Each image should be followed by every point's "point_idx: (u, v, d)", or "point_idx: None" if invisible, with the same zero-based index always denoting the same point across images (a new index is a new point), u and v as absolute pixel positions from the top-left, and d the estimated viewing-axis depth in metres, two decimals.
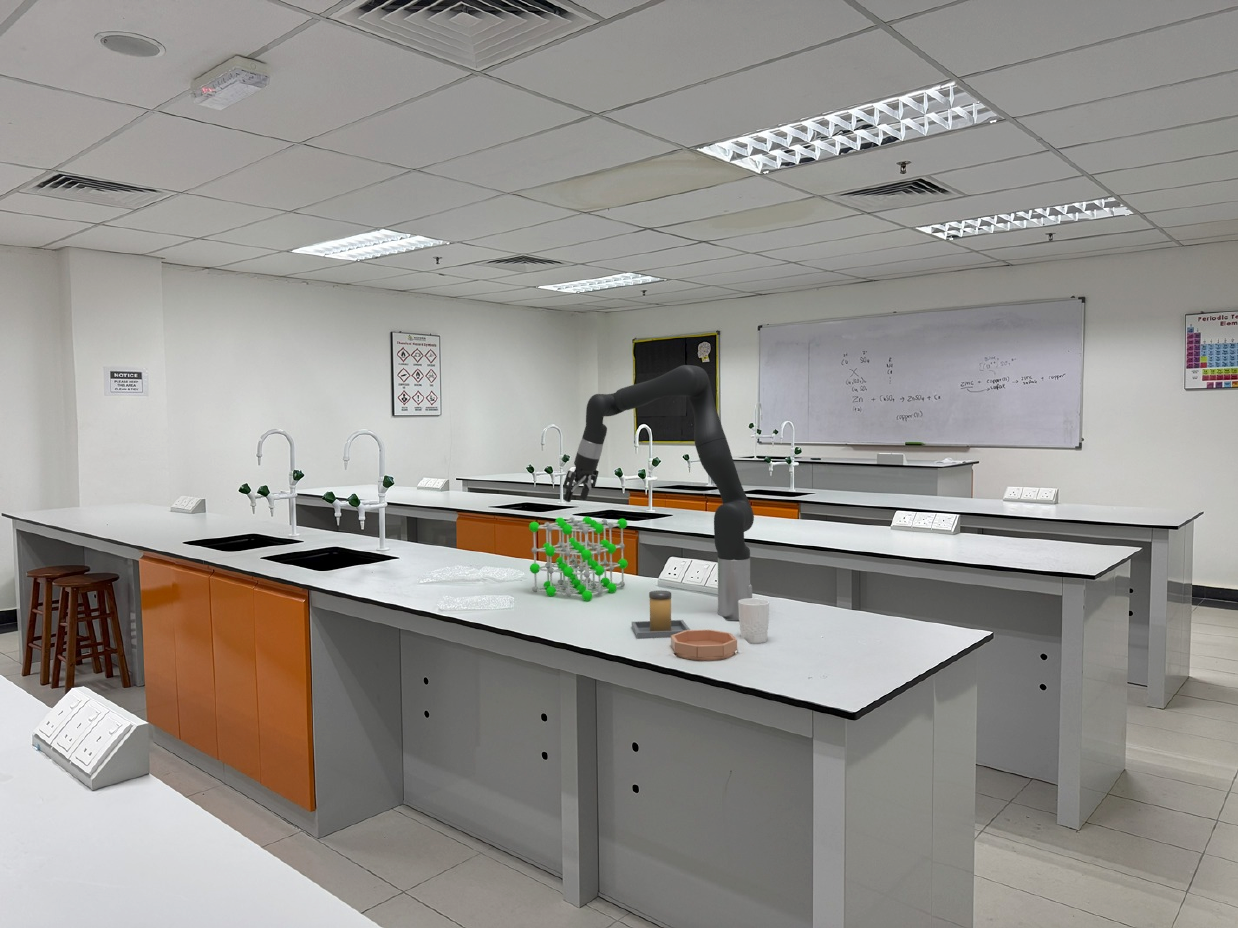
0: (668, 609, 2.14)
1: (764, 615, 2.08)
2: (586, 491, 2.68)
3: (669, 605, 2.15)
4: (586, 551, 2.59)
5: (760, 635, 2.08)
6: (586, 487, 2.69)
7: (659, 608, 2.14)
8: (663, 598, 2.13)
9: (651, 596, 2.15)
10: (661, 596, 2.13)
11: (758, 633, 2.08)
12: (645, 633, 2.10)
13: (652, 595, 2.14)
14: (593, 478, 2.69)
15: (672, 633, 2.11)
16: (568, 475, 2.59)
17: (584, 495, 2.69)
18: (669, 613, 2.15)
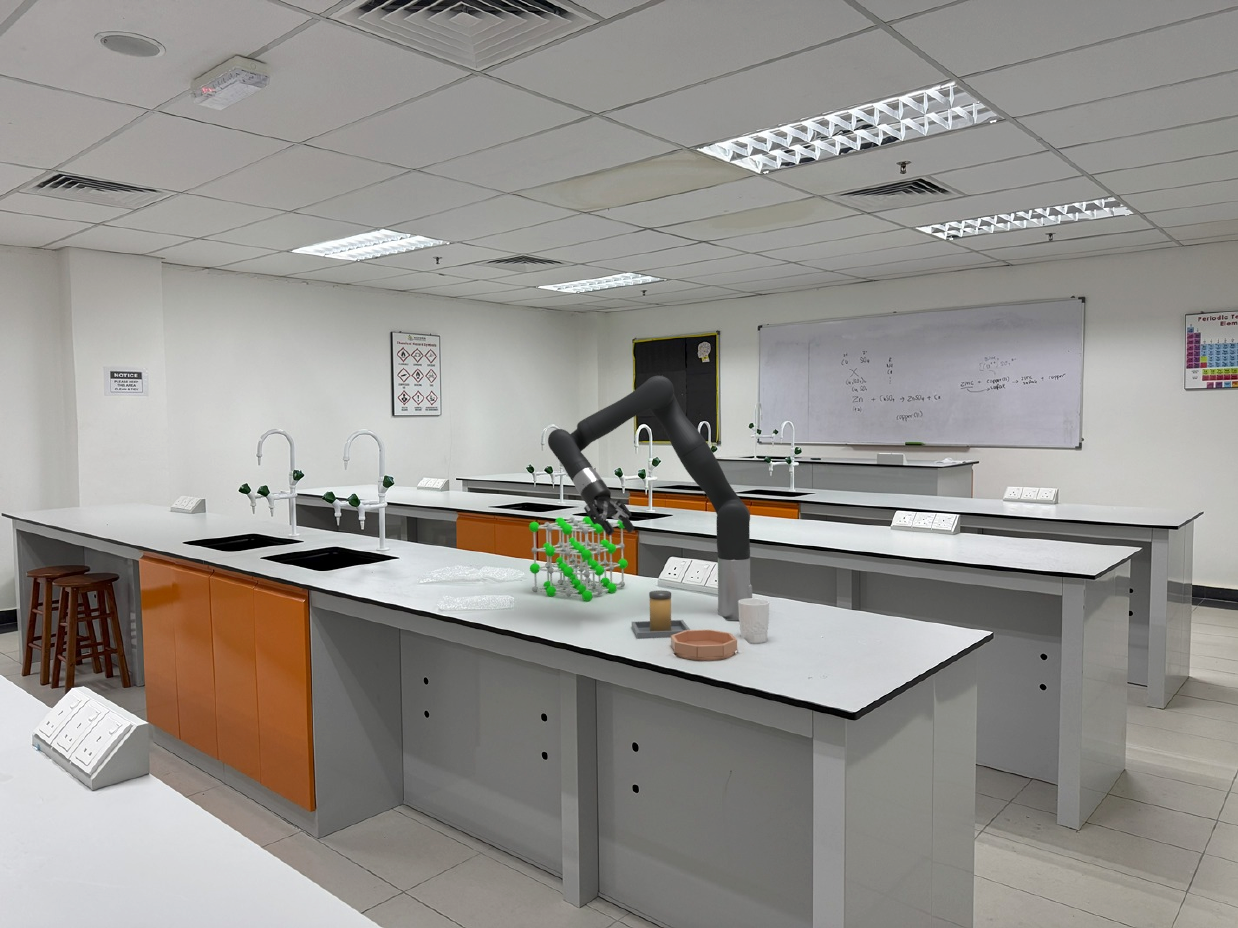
0: (668, 609, 2.14)
1: (764, 615, 2.08)
2: (626, 520, 2.28)
3: (669, 605, 2.15)
4: (586, 551, 2.59)
5: (760, 635, 2.08)
6: (623, 518, 2.29)
7: (659, 608, 2.14)
8: (663, 598, 2.13)
9: (651, 596, 2.15)
10: (661, 596, 2.13)
11: (758, 633, 2.08)
12: (645, 633, 2.10)
13: (652, 595, 2.14)
14: (622, 508, 2.31)
15: (672, 633, 2.11)
16: (587, 509, 2.22)
17: (628, 525, 2.27)
18: (669, 613, 2.15)
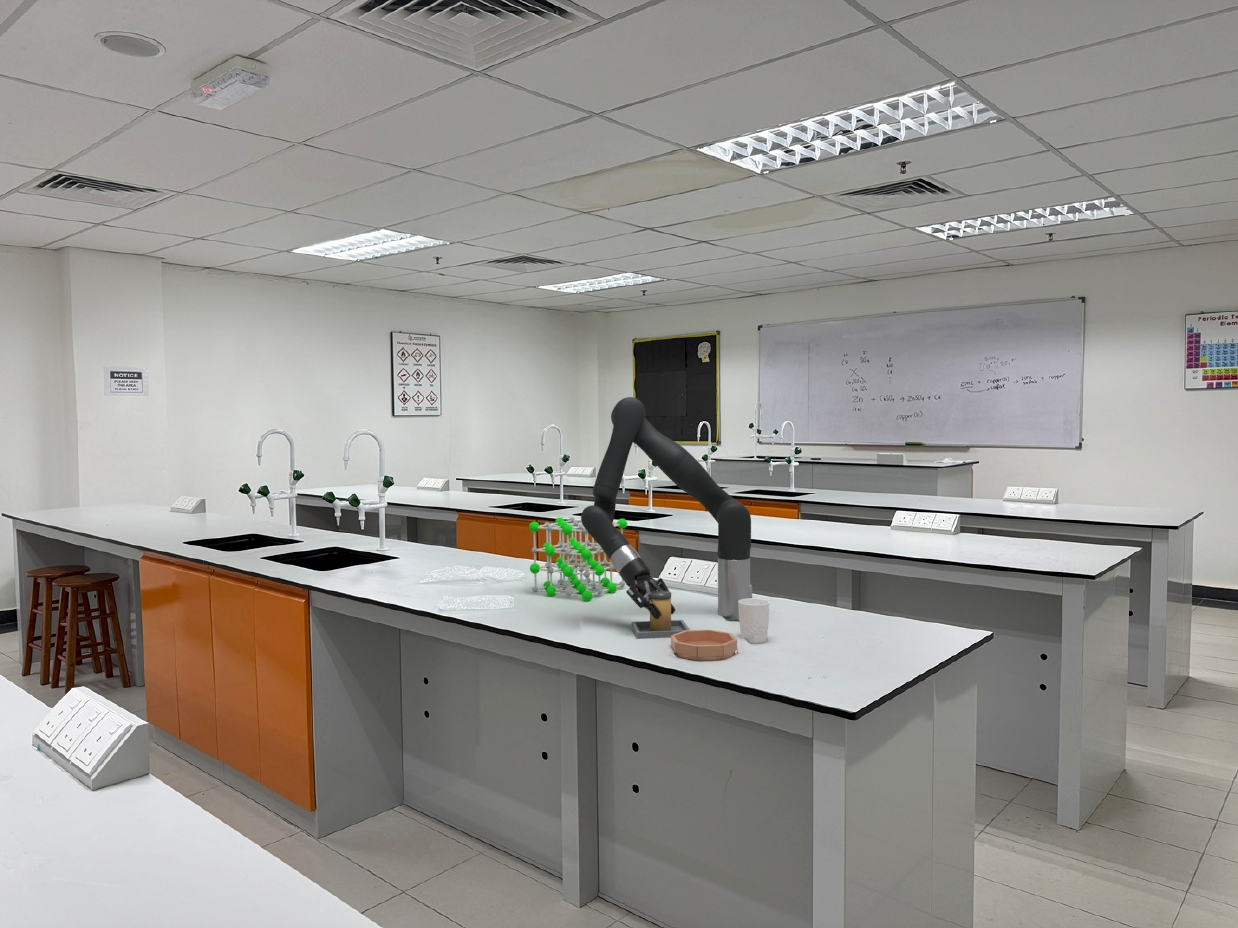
0: (668, 609, 2.14)
1: (764, 615, 2.08)
2: None
3: (669, 605, 2.15)
4: (586, 551, 2.59)
5: (760, 635, 2.08)
6: None
7: (659, 608, 2.13)
8: (663, 598, 2.13)
9: (651, 596, 2.15)
10: (661, 596, 2.13)
11: (758, 633, 2.08)
12: (645, 633, 2.10)
13: (652, 595, 2.14)
14: (662, 587, 2.22)
15: (672, 633, 2.11)
16: (630, 593, 2.14)
17: None
18: (669, 613, 2.15)
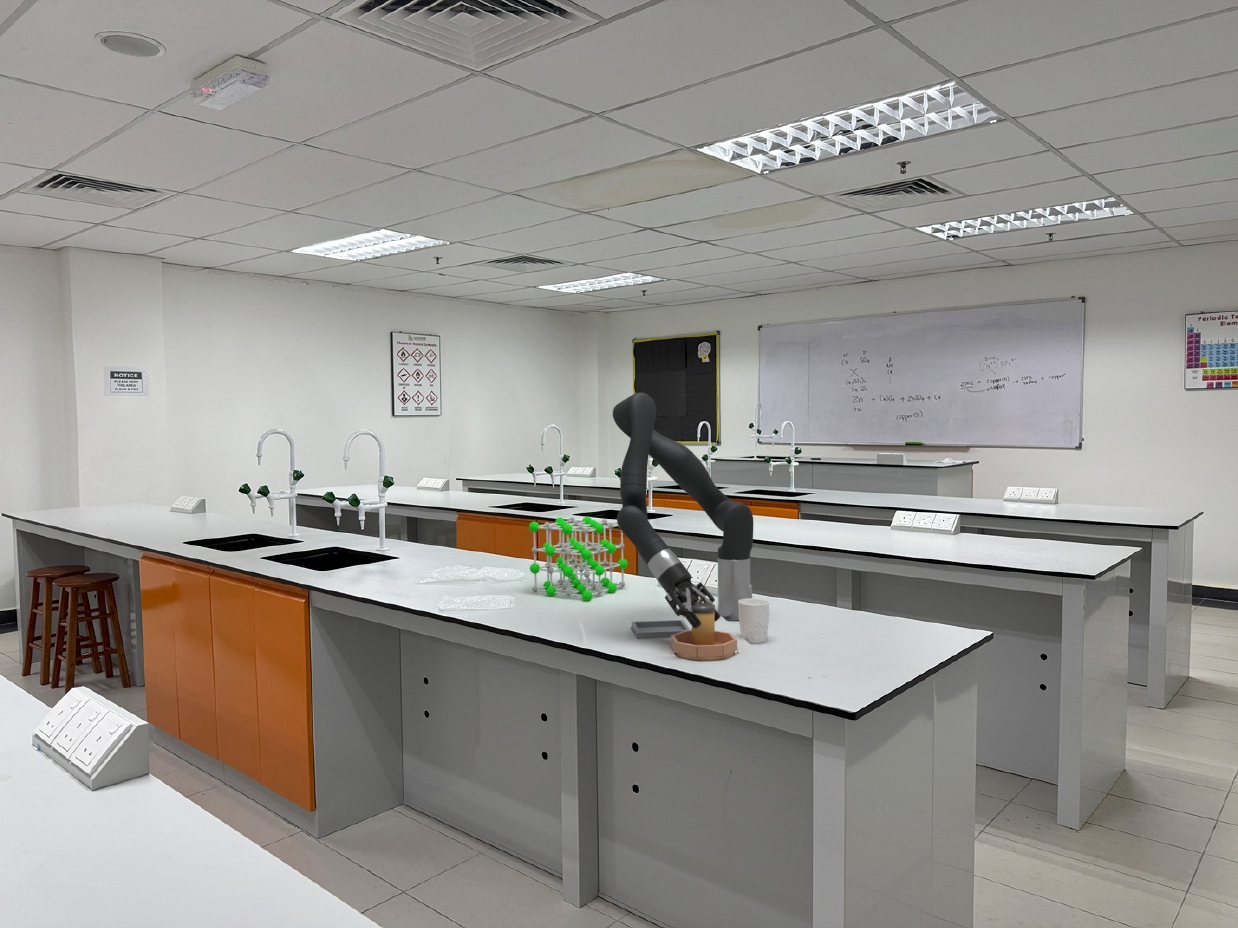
0: (712, 623, 1.98)
1: (764, 616, 2.08)
2: None
3: (713, 619, 1.99)
4: (586, 551, 2.59)
5: (760, 635, 2.08)
6: None
7: (703, 622, 1.98)
8: (706, 612, 1.97)
9: (693, 609, 1.99)
10: (704, 609, 1.97)
11: (758, 633, 2.08)
12: (645, 633, 2.10)
13: (694, 608, 1.98)
14: (704, 592, 2.07)
15: (672, 633, 2.11)
16: (669, 598, 1.98)
17: None
18: (713, 628, 1.99)
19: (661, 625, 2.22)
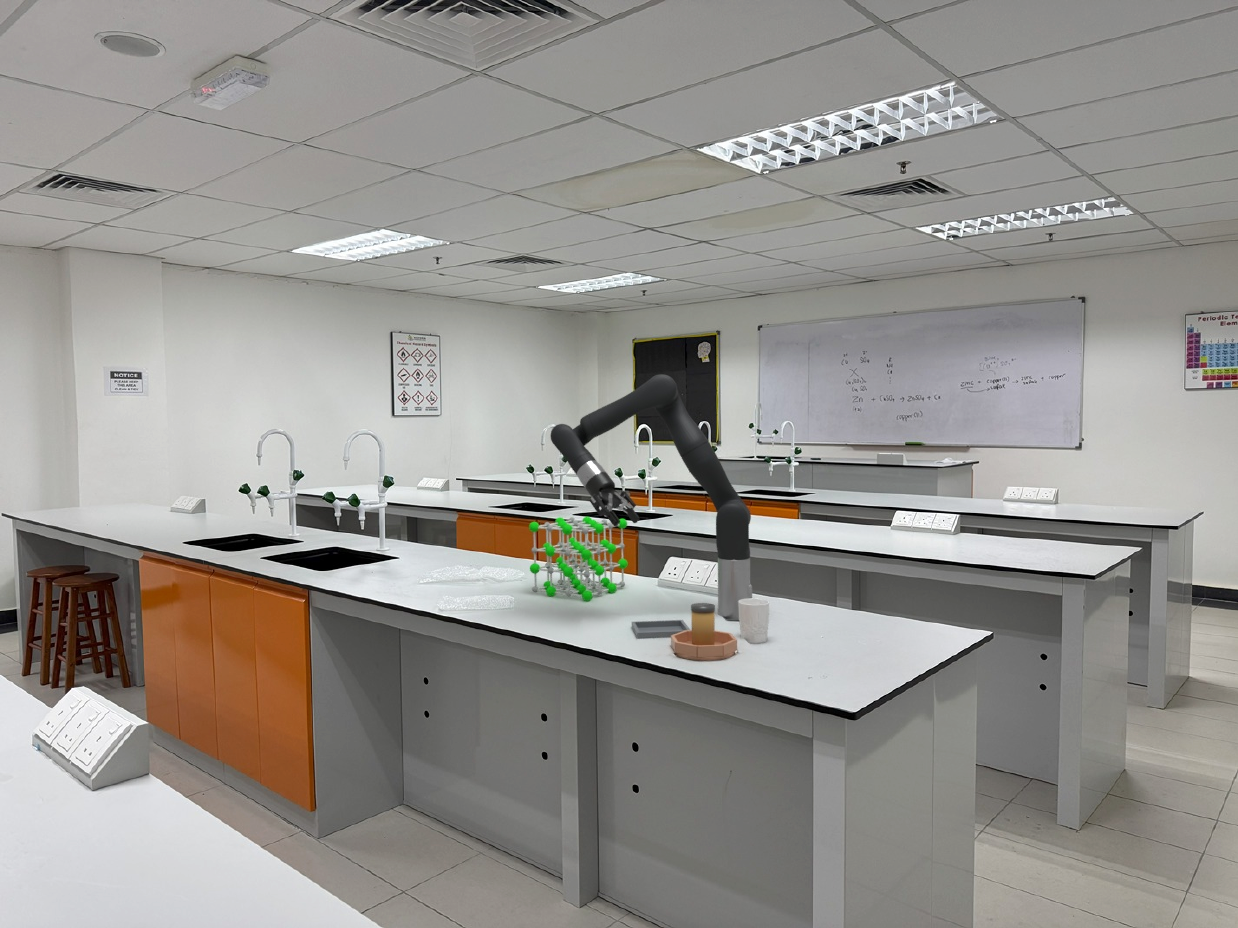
0: (712, 623, 1.98)
1: (764, 616, 2.08)
2: (631, 511, 2.31)
3: (713, 619, 1.99)
4: (586, 551, 2.59)
5: (760, 635, 2.08)
6: (628, 509, 2.31)
7: (703, 622, 1.98)
8: (706, 612, 1.97)
9: (693, 609, 1.99)
10: (704, 609, 1.97)
11: (758, 633, 2.08)
12: (645, 633, 2.10)
13: (694, 608, 1.98)
14: (626, 499, 2.34)
15: (672, 633, 2.11)
16: (592, 501, 2.25)
17: (634, 516, 2.30)
18: (713, 628, 1.99)
19: (661, 625, 2.22)
